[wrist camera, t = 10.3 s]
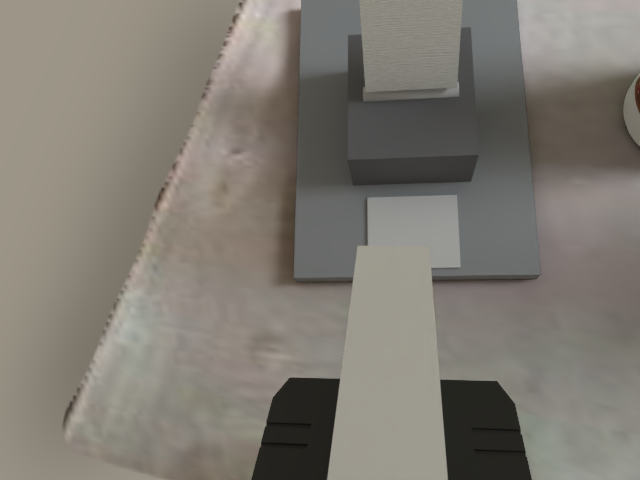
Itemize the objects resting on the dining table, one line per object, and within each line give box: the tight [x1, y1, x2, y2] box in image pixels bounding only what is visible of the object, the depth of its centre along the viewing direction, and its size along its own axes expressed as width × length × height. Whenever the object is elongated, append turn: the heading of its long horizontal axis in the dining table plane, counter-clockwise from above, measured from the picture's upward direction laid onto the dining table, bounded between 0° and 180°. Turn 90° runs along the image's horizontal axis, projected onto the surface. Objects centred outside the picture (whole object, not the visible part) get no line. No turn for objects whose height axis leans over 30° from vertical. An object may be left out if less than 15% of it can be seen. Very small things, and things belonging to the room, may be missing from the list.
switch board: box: [294, 0, 541, 282], centre depth 42 cm, size 22×16×6 cm
